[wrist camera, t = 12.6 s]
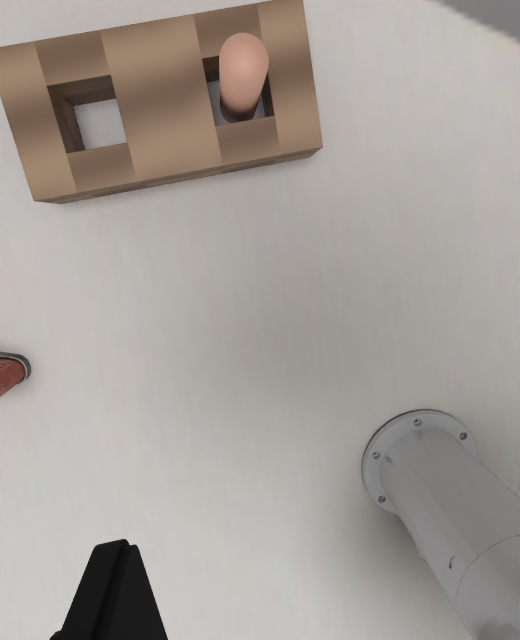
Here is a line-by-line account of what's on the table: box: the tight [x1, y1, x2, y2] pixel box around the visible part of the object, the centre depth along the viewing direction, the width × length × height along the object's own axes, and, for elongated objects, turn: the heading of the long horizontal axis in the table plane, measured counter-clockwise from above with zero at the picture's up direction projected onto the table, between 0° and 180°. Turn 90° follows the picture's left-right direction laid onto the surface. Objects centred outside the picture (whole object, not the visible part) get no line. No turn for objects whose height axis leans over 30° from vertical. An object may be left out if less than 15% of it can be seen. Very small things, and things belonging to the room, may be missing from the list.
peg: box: [219, 33, 269, 124], centre depth 29 cm, size 3×3×10 cm
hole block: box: [0, 0, 323, 204], centre depth 31 cm, size 10×22×5 cm, turn 101°
